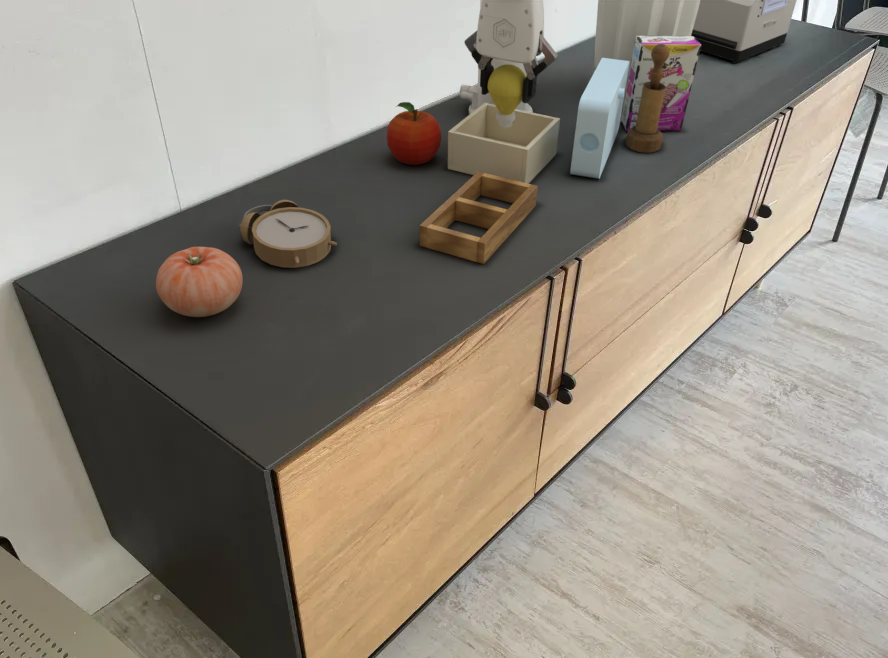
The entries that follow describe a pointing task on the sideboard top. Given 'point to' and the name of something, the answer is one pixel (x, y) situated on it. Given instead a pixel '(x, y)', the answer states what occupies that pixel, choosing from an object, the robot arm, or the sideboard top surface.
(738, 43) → the toaster
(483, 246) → the wooden frame
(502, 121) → the light bulb
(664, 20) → the vase
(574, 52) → the sideboard top surface
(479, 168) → the wooden box
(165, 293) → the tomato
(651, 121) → the mortar and pestle
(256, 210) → the alarm clock
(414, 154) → the fruit
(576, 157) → the radio
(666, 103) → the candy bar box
